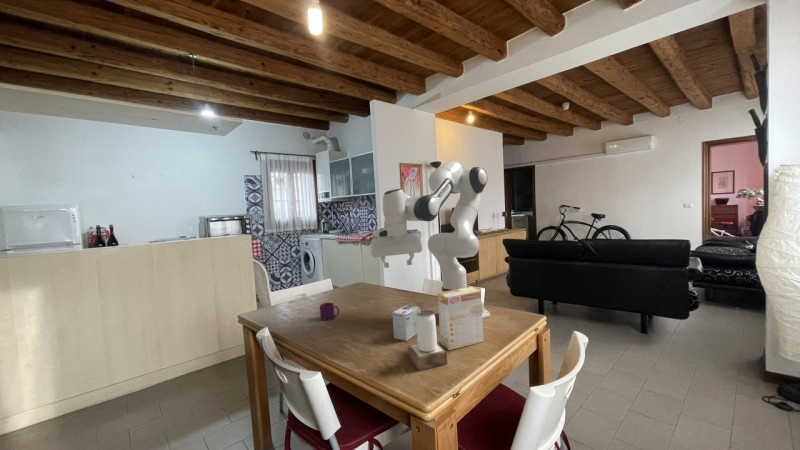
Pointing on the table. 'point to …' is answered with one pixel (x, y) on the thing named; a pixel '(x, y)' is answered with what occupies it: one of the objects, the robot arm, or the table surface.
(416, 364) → the base block
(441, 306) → the coffeecake box
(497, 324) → the table surface
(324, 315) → the mug
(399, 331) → the light bulb box
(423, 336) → the can
